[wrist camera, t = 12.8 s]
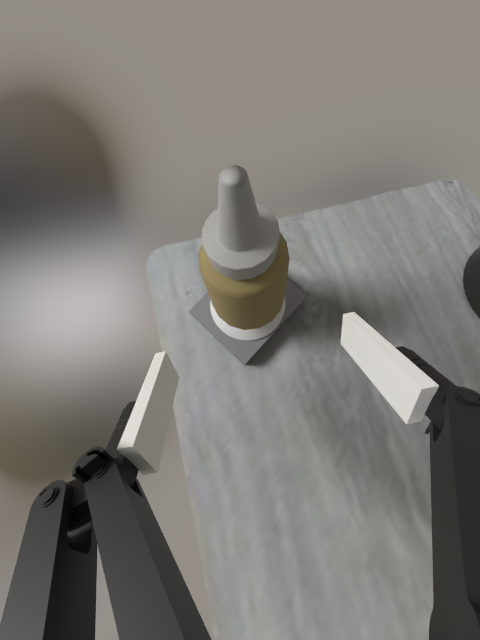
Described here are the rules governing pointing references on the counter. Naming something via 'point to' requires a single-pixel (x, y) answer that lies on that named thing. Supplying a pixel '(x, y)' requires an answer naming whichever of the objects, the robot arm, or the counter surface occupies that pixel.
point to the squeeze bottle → (243, 255)
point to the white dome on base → (249, 340)
